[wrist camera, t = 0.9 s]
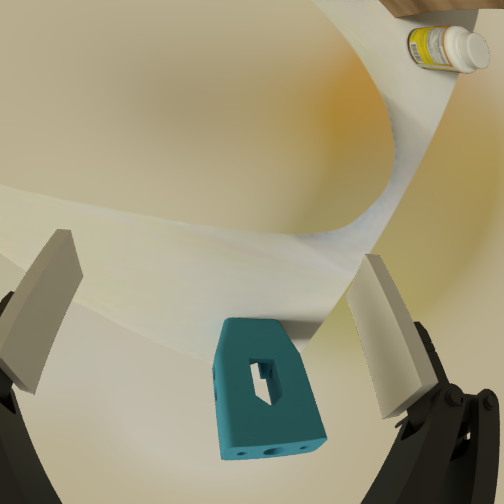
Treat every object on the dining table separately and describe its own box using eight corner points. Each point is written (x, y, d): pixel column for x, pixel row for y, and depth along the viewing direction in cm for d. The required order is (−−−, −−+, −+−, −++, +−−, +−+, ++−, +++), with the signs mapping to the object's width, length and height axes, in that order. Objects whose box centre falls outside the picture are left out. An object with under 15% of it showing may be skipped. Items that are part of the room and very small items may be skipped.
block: (291, 319, 45) (330, 436, 28) (282, 341, 47) (314, 451, 30) (213, 316, 42) (225, 447, 25) (209, 339, 44) (220, 460, 28)
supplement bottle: (440, 46, 24) (498, 50, 16) (427, 76, 27) (487, 87, 18) (411, 19, 22) (469, 15, 14) (397, 51, 25) (457, 52, 16)
